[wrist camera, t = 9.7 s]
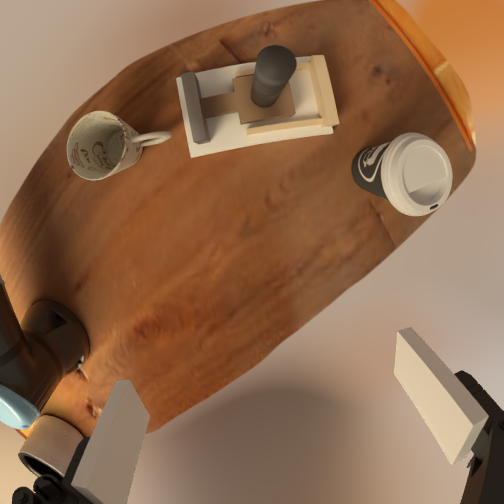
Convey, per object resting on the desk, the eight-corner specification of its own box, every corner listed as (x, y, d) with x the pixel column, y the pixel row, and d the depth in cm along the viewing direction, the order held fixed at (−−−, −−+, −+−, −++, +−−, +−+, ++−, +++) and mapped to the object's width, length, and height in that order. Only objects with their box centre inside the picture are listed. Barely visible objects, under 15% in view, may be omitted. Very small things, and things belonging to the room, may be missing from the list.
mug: (97, 129, 38) (63, 122, 28) (175, 107, 38) (156, 91, 28) (104, 181, 40) (71, 187, 30) (183, 162, 40) (166, 162, 30)
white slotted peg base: (192, 157, 40) (187, 157, 36) (177, 80, 36) (171, 71, 32) (330, 133, 40) (340, 131, 35) (314, 58, 36) (322, 48, 32)
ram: (198, 144, 38) (173, 132, 23) (187, 84, 35) (158, 41, 20) (293, 127, 38) (327, 105, 22) (281, 67, 35) (304, 17, 20)
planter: (34, 404, 53) (9, 443, 39) (85, 426, 55) (64, 471, 40) (46, 437, 58) (28, 473, 43) (93, 457, 59) (78, 497, 45)
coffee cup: (341, 200, 42) (387, 218, 28) (341, 135, 40) (389, 125, 25) (396, 201, 43) (454, 220, 28) (397, 141, 40) (457, 138, 26)
